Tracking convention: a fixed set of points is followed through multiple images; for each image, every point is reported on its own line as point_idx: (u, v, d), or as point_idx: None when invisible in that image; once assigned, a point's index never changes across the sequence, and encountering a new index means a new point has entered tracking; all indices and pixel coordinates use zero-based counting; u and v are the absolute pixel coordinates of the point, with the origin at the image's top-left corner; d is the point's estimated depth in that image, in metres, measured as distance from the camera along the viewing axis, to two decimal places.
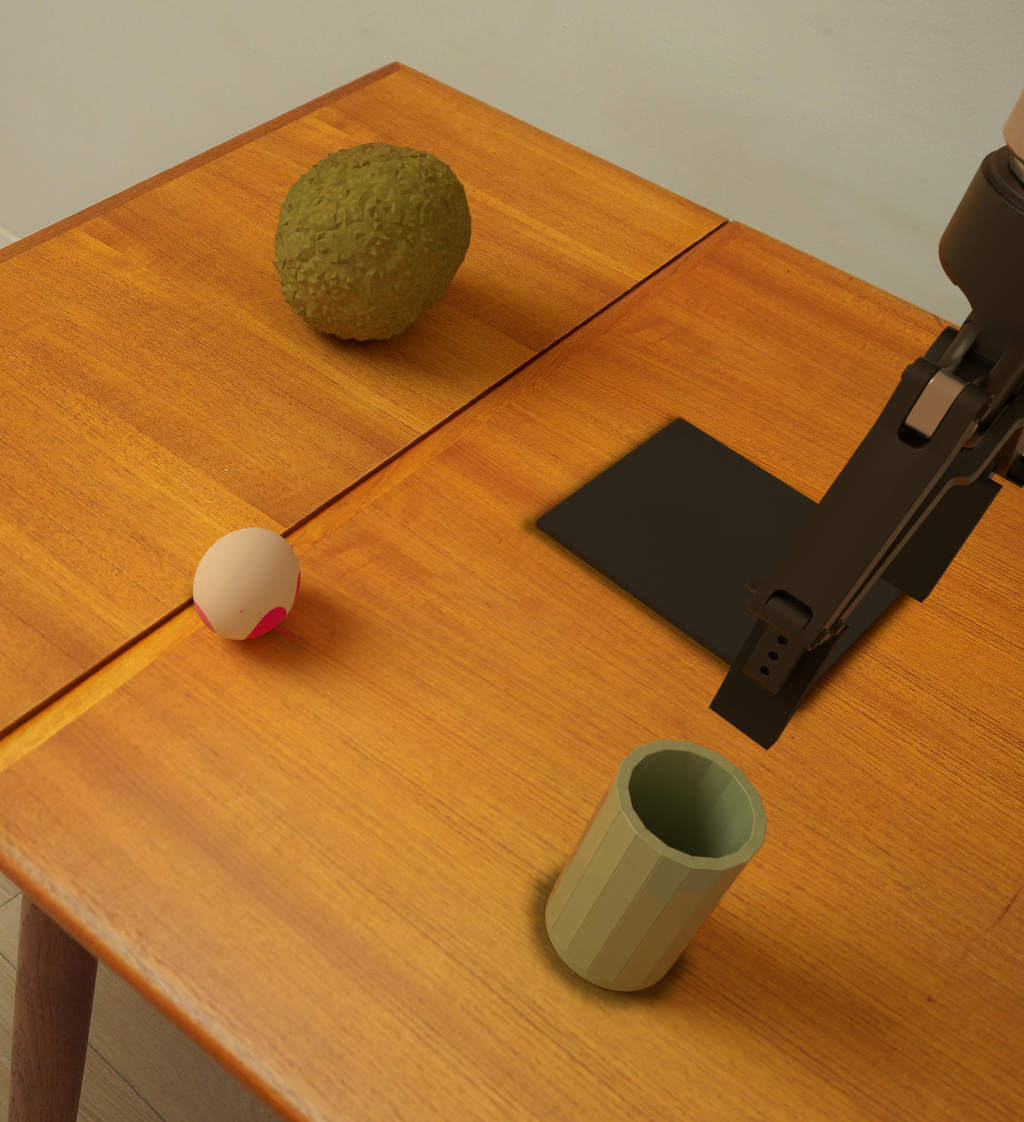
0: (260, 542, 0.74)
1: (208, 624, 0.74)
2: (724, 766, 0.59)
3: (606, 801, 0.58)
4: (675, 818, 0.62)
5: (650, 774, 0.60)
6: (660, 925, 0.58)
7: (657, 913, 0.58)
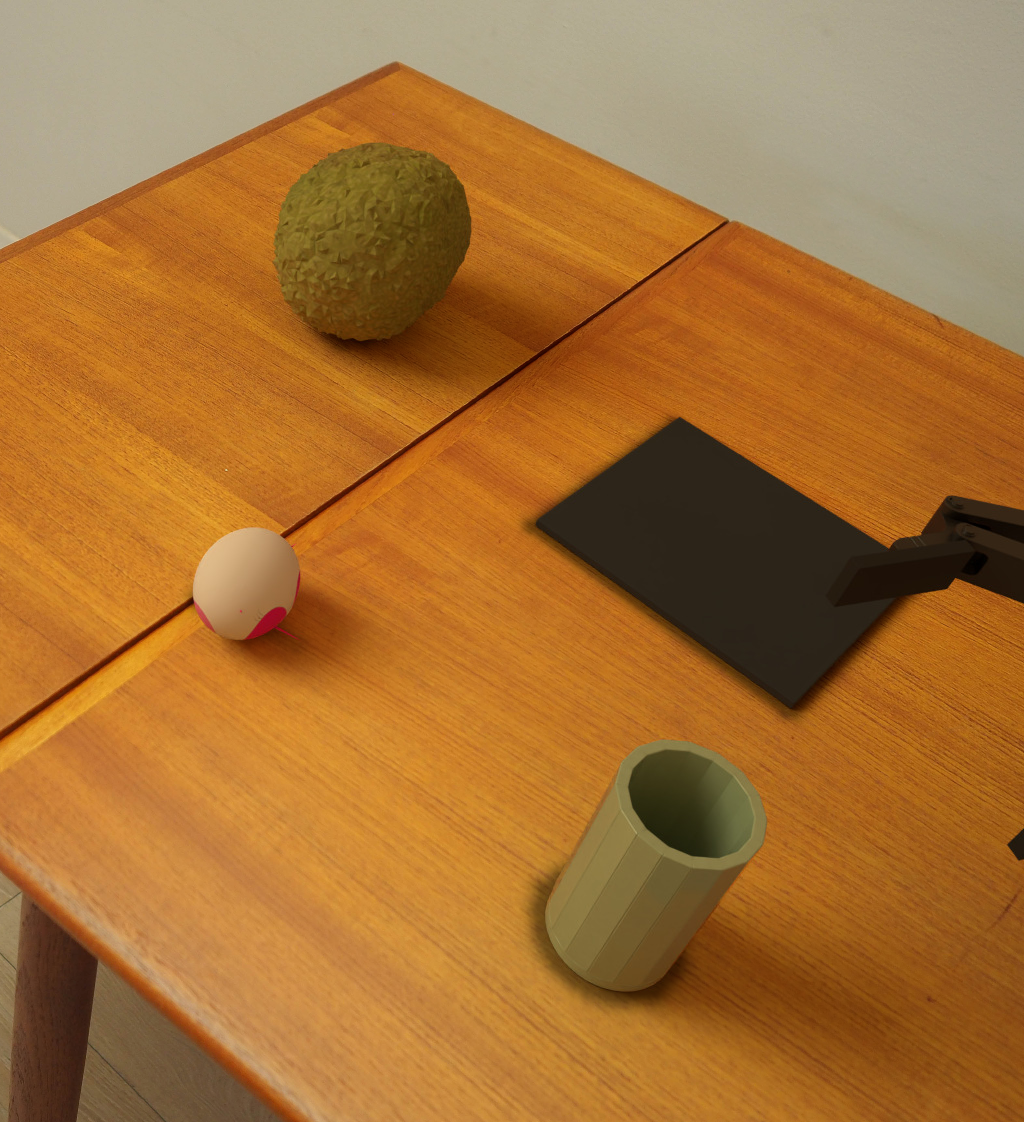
0: (260, 542, 0.74)
1: (208, 624, 0.74)
2: (724, 766, 0.59)
3: (606, 801, 0.58)
4: (675, 818, 0.62)
5: (650, 774, 0.60)
6: (660, 925, 0.58)
7: (657, 913, 0.58)
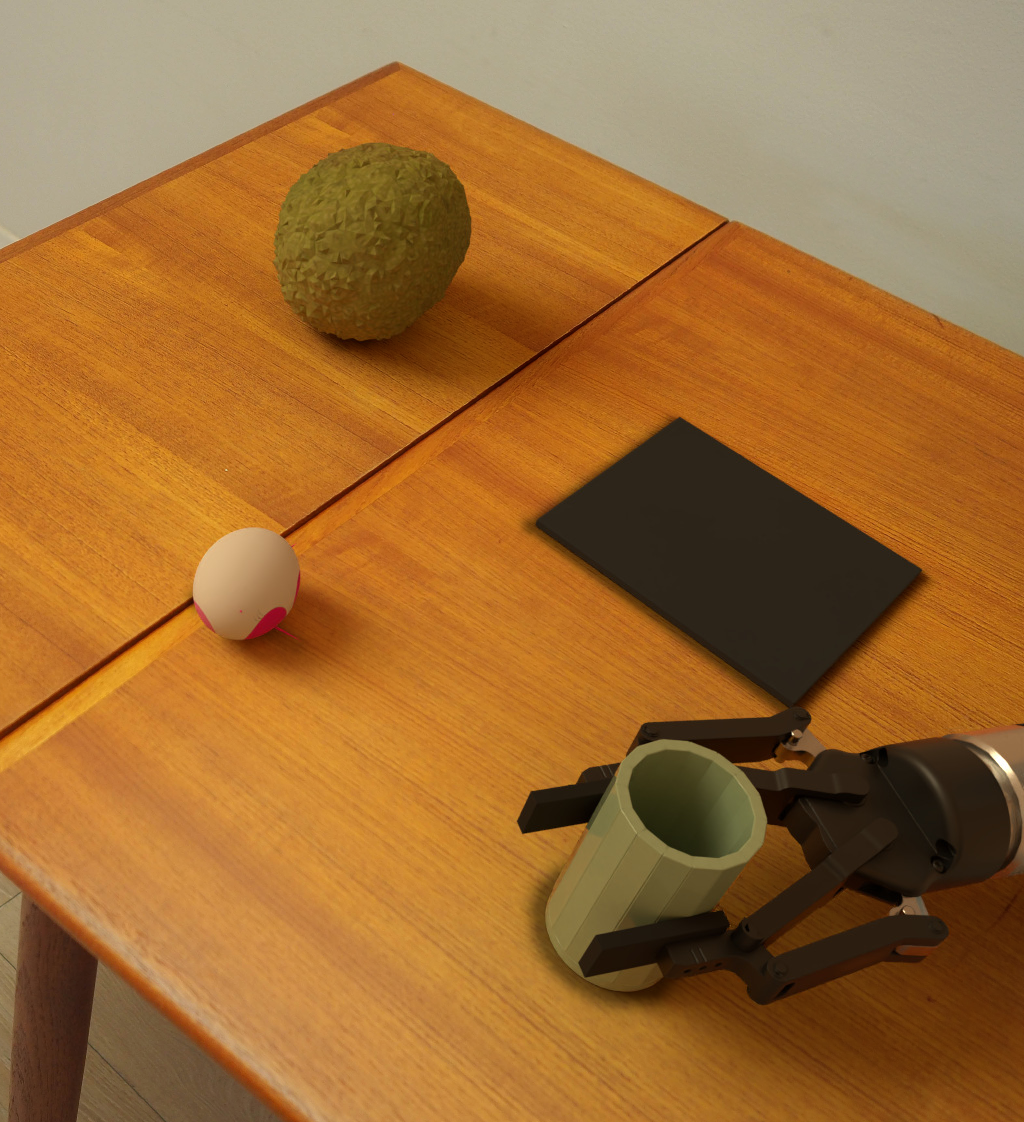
0: (260, 542, 0.74)
1: (208, 624, 0.74)
2: (724, 766, 0.59)
3: (606, 801, 0.58)
4: (675, 818, 0.62)
5: (650, 773, 0.60)
6: None
7: (657, 913, 0.58)
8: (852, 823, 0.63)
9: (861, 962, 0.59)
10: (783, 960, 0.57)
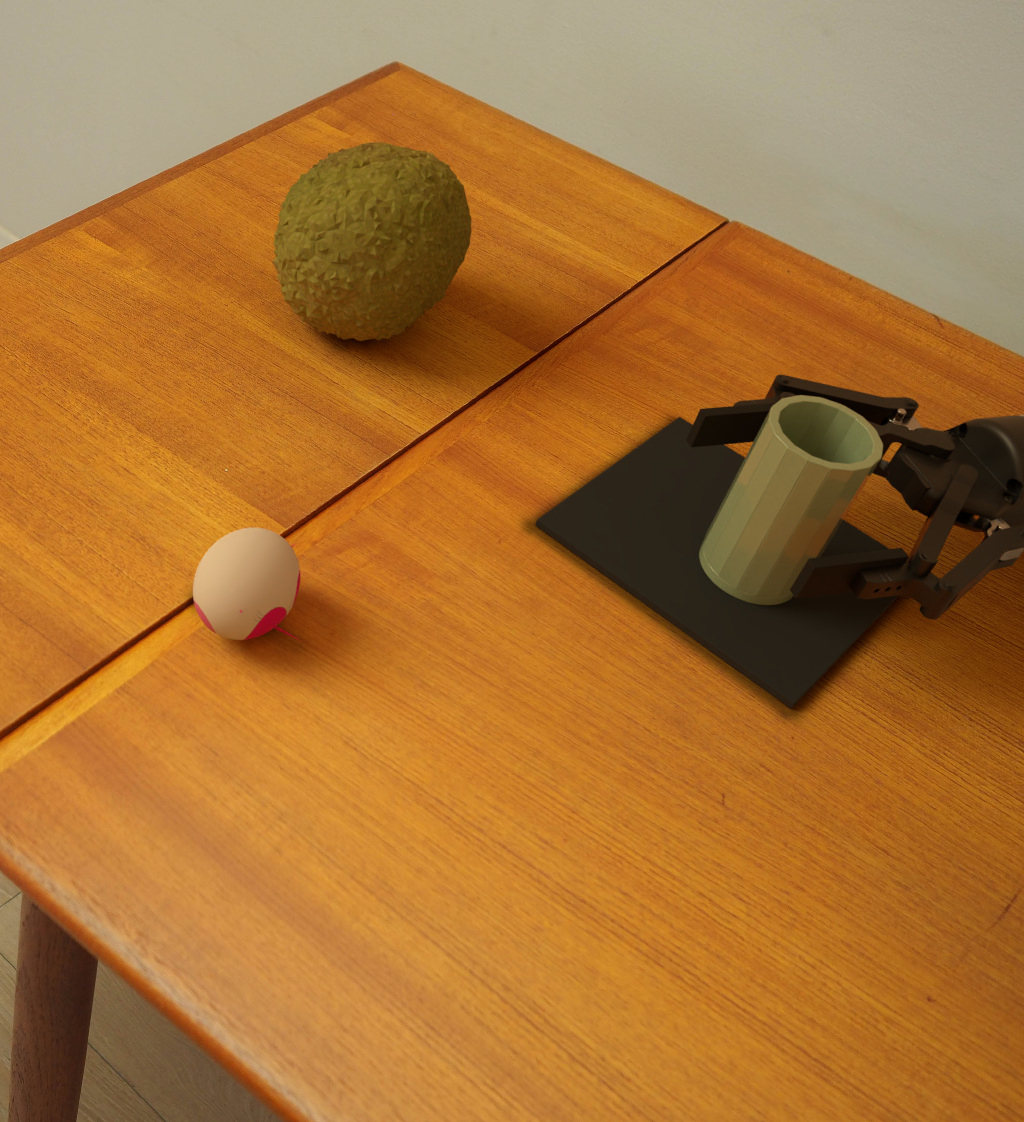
0: (260, 542, 0.74)
1: (208, 624, 0.74)
2: (848, 412, 0.78)
3: (760, 436, 0.78)
4: None
5: (789, 426, 0.80)
6: (800, 530, 0.78)
7: (799, 518, 0.77)
8: (942, 471, 0.82)
9: (986, 571, 0.77)
10: (948, 579, 0.75)
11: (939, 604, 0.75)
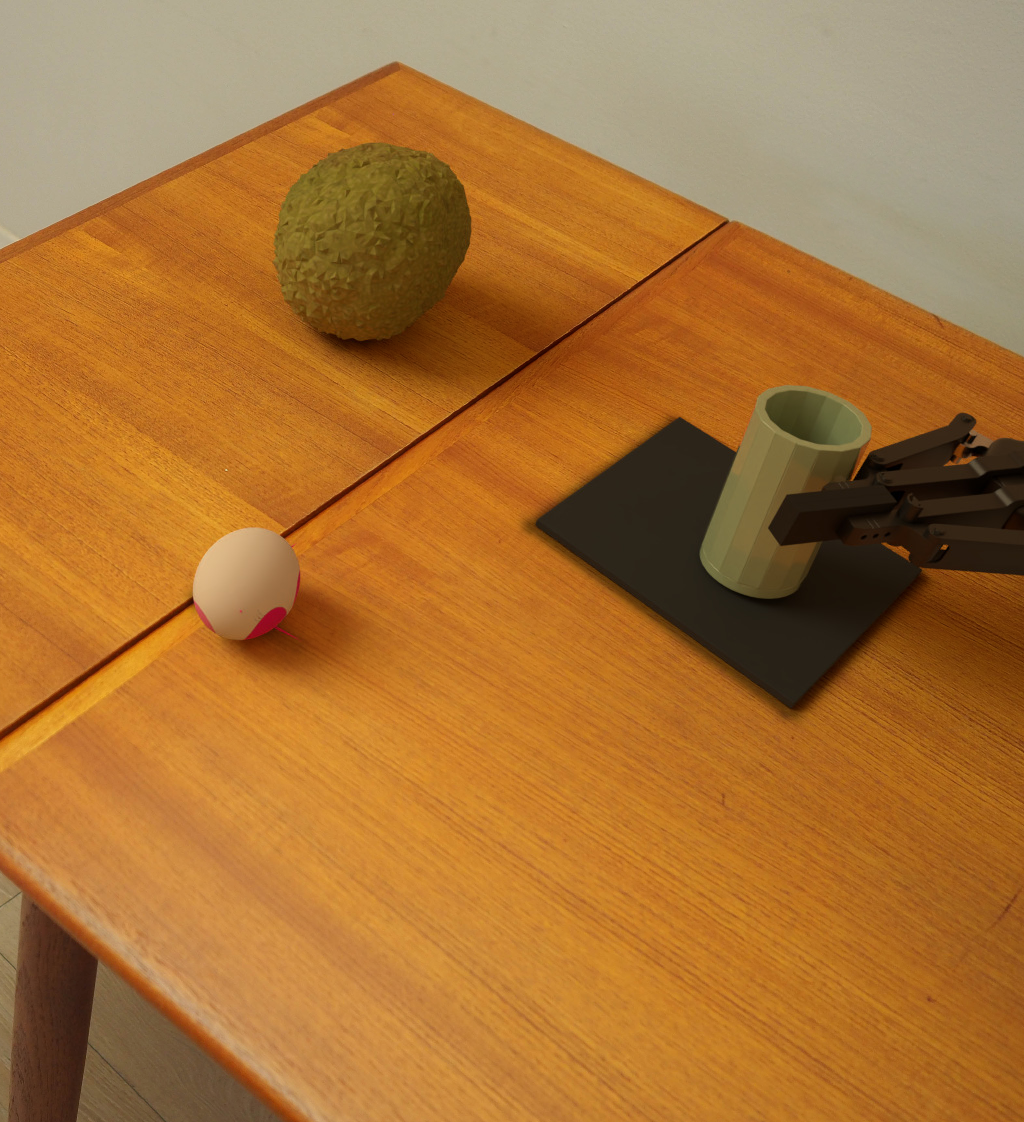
0: (260, 542, 0.74)
1: (208, 624, 0.74)
2: (835, 399, 0.78)
3: (748, 426, 0.78)
4: None
5: (778, 417, 0.80)
6: None
7: None
8: None
9: (1013, 560, 0.73)
10: (943, 527, 0.72)
11: (922, 547, 0.72)
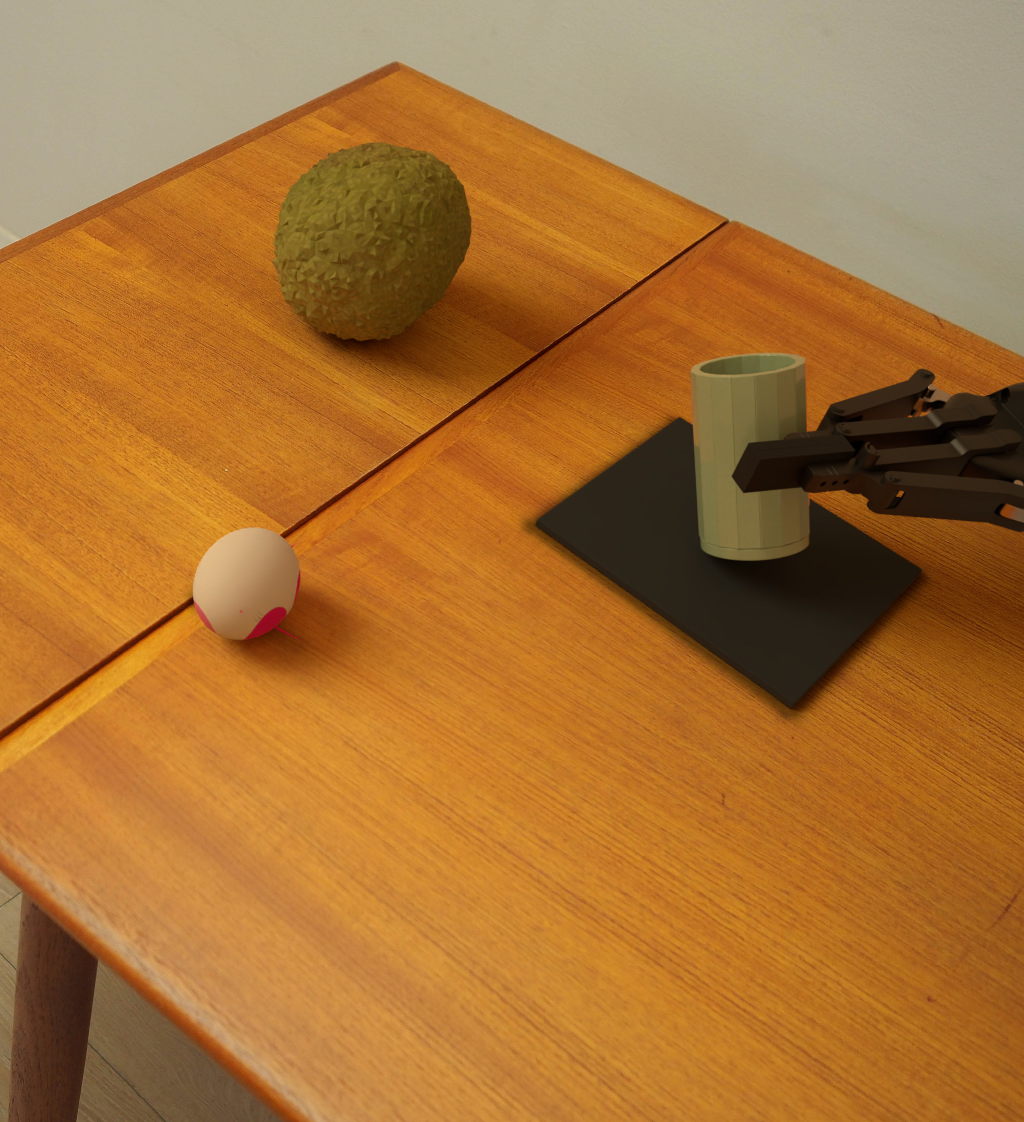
0: (260, 542, 0.74)
1: (208, 624, 0.74)
2: (768, 354, 0.82)
3: (691, 392, 0.82)
4: None
5: None
6: None
7: (754, 441, 0.78)
8: None
9: (966, 506, 0.75)
10: (899, 474, 0.75)
11: (879, 493, 0.75)
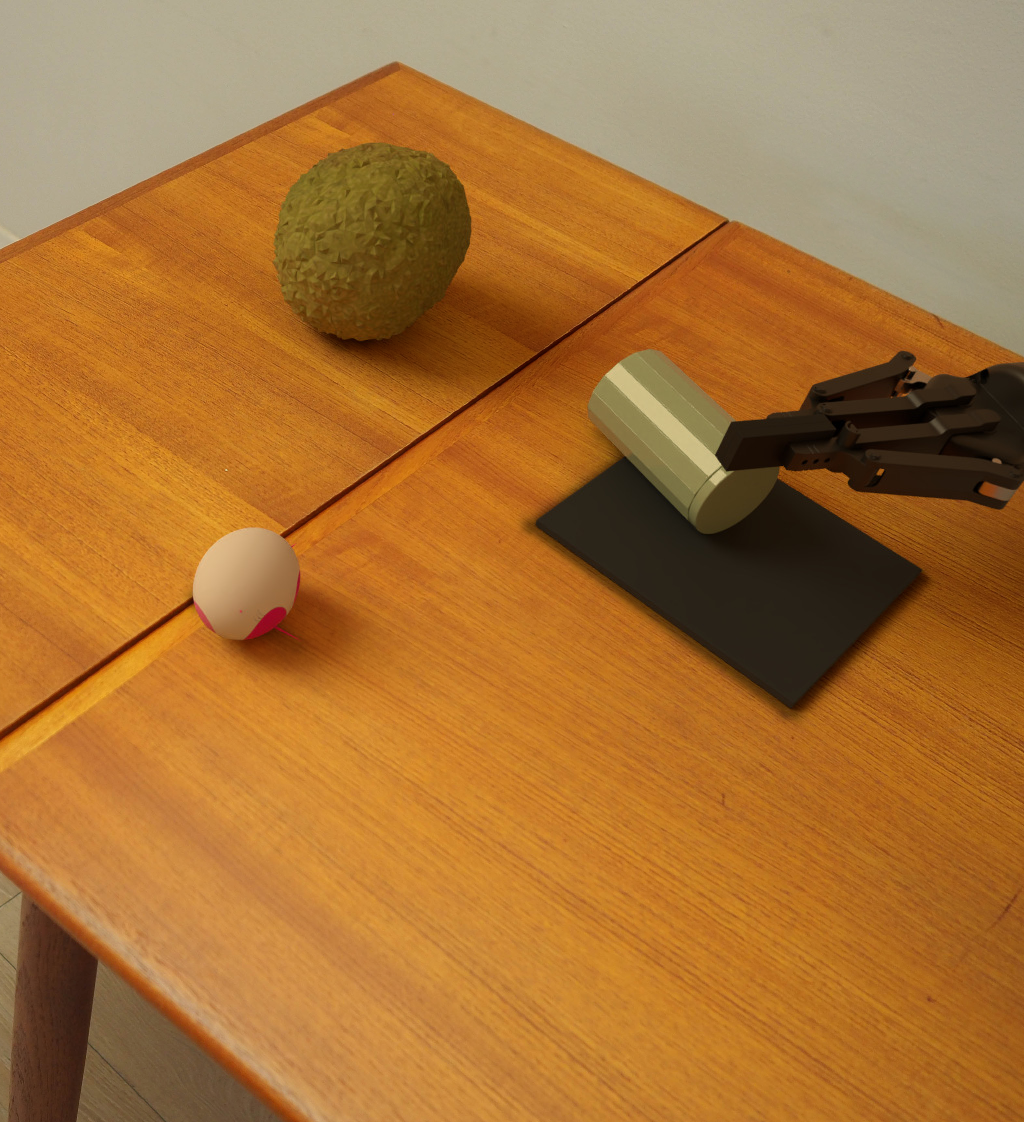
0: (260, 542, 0.74)
1: (208, 624, 0.74)
2: None
3: (599, 428, 0.91)
4: None
5: None
6: (668, 404, 0.86)
7: (654, 399, 0.86)
8: None
9: (946, 484, 0.77)
10: (879, 453, 0.76)
11: (859, 471, 0.76)
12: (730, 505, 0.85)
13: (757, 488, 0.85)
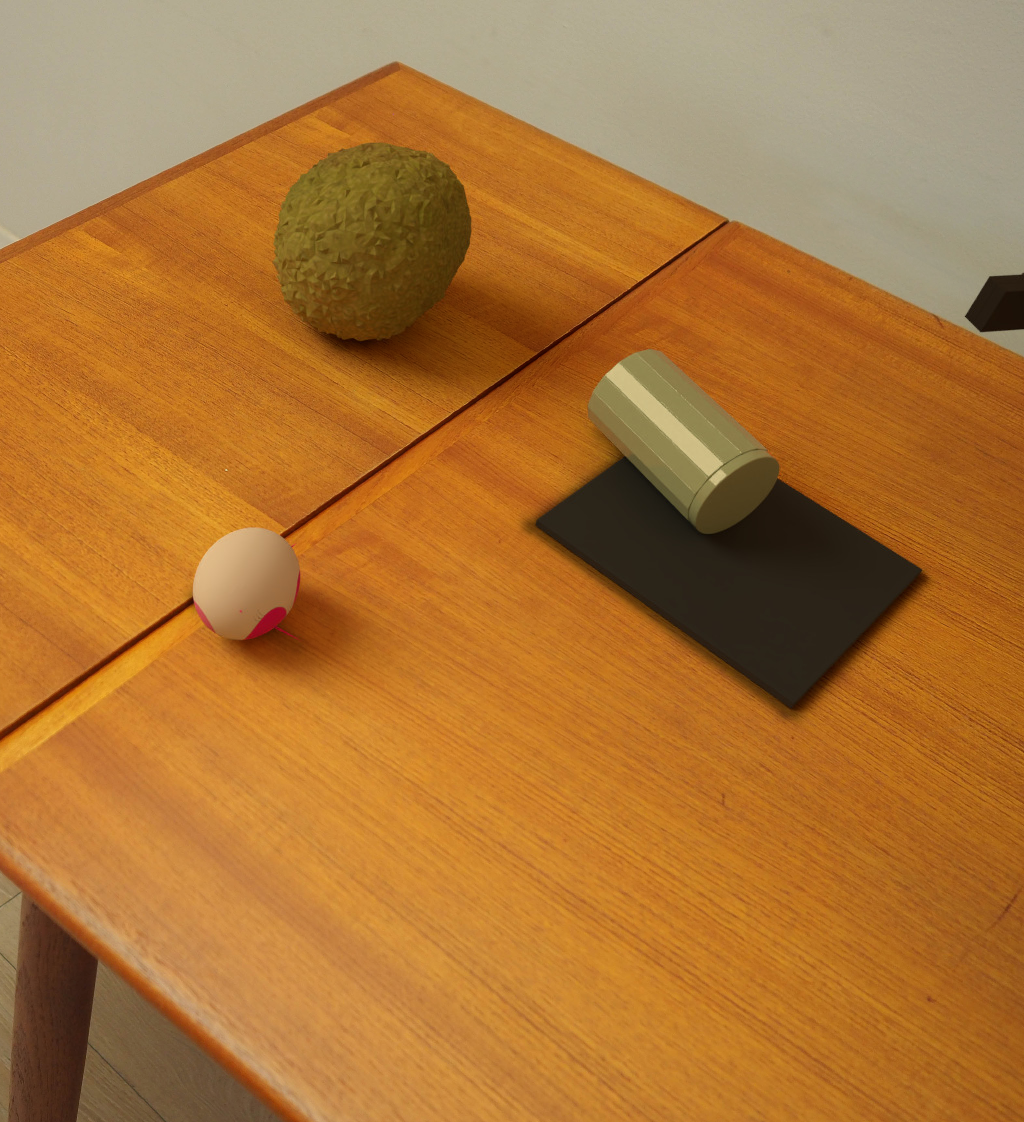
0: (260, 542, 0.74)
1: (208, 624, 0.74)
2: None
3: (599, 428, 0.91)
4: None
5: None
6: (668, 404, 0.86)
7: (654, 399, 0.86)
8: None
9: None
10: None
11: None
12: (730, 505, 0.85)
13: (757, 488, 0.85)
